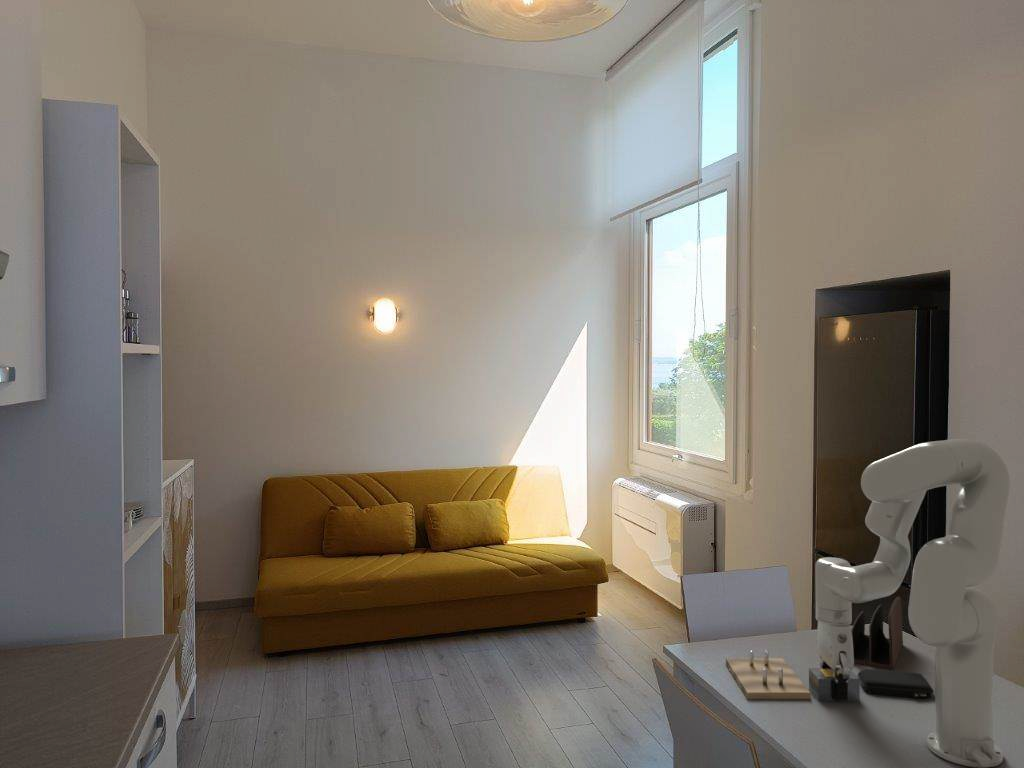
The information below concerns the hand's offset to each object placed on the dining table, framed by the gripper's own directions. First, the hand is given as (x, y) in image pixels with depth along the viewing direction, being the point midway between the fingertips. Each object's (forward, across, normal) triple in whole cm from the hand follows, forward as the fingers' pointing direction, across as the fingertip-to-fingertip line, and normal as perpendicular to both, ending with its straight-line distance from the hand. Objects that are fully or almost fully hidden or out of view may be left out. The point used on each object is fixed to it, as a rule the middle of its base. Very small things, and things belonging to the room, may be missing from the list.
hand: (834, 692), depth 170 cm
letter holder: (+1, +25, -20) cm, 32 cm away
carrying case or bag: (+1, +3, -15) cm, 15 cm away
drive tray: (+1, +8, +13) cm, 15 cm away
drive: (+1, 0, 0) cm, 1 cm away
